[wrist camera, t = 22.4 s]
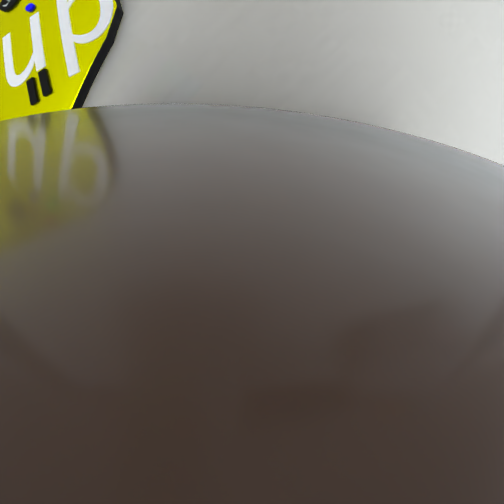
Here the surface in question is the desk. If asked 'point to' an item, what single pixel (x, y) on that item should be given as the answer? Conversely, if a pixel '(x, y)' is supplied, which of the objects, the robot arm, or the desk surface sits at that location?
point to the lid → (247, 311)
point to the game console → (52, 52)
